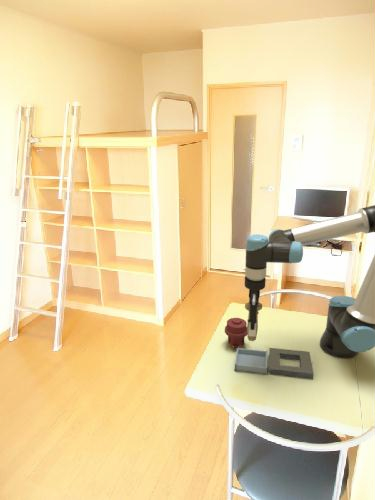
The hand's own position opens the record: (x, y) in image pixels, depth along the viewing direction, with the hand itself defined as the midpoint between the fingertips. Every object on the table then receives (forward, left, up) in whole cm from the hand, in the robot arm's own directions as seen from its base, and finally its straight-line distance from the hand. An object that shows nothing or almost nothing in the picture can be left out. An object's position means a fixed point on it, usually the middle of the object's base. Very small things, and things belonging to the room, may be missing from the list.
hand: (252, 332), depth 137 cm
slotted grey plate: (-15, -2, -15) cm, 21 cm away
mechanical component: (+7, -12, -15) cm, 20 cm away
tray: (0, 0, -15) cm, 15 cm away
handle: (0, 0, -3) cm, 3 cm away
